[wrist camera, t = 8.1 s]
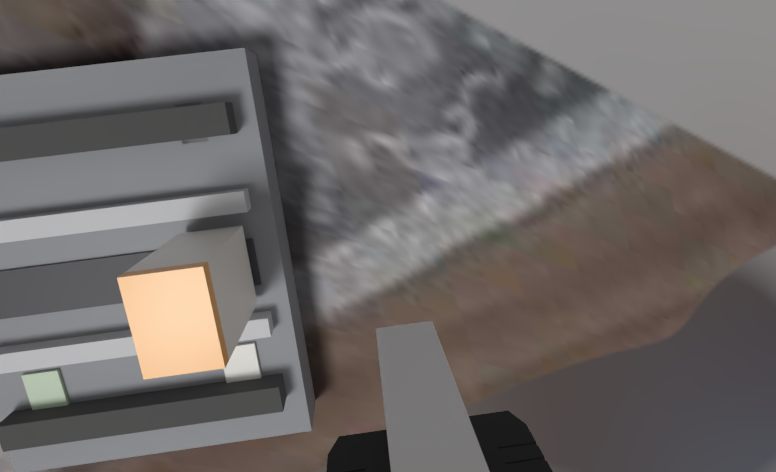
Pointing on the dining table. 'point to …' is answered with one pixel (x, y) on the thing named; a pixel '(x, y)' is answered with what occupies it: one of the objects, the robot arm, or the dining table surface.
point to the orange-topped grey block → (189, 302)
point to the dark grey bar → (118, 131)
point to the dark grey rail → (142, 412)
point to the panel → (137, 249)
